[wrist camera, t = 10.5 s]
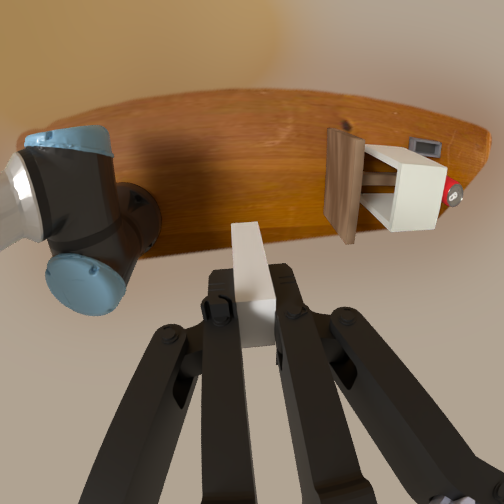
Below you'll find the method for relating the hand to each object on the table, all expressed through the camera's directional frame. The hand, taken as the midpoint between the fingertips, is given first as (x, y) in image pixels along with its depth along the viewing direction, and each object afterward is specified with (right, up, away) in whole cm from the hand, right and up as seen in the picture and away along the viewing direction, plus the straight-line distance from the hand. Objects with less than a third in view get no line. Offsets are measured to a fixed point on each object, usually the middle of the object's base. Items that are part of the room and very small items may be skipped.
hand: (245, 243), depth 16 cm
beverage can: (+37, +16, +35) cm, 53 cm away
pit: (+36, +22, +31) cm, 52 cm away
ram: (+24, +15, +33) cm, 44 cm away
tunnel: (+26, +15, +34) cm, 45 cm away
